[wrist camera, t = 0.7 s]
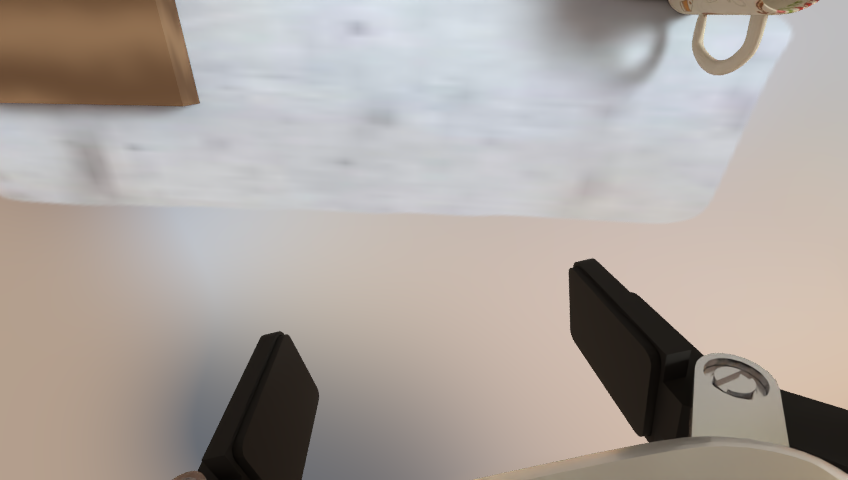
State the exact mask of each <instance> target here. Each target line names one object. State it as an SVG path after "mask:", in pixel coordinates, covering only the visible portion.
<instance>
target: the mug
mask: <svg viewBox="0 0 848 480" xmlns="http://www.w3.org/2000/svg"><path fill="white" fill-rule="evenodd" d="M668 1H669V3H670V5H671V6H672V8H673V9H674V10H676V11H677V12H679V13H682V14H691V15H699V17H698V19H697V22H696V26H695V30H694V35H693V40H692V50H693V54H694V56H695V58H696V60H697V62H698V64H699V65H700V67H701V68H702V69H703V70H704V71H706V72H707V73H709V74H712V75H724V74H728V73H730V72H733V71H735V70H736V69H738V68H740V67H741V66H742V65H744V64H745V63H746V62H747V61H748V60H749V59H750V58H751V57H752V56H753V55H754V54H755V52H756V51H757V49H758V47H759V45H760V42H761V39H762V36H763V33H764V29H765V25H766V21H767V17H768V15H780V14H788V13H793V12H796V11H800V10H802V9H805V8H807V7H809V6H811V5H813V4H814V3H816V2H818V1H819V0H668ZM707 15H751V17H750V21H749V26H748V31H747V36H746V39H745V42H744V44H743V45H742V47H741V48H740V49H739V50H738V51H737V52H736V53H735V54H734V55H733V56H731V57H730V58H728V59H726V60H716V59H714V58H713V57H712V56H711V55H709V53H708V52H707V51H706V49H705V48H704V45H703V38H704V32H705V26H706V18H707Z"/></svg>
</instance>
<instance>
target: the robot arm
mask: <svg viewBox="0 0 848 480" xmlns="http://www.w3.org/2000/svg"><path fill="white" fill-rule="evenodd" d="M569 296H570V330H571V335H572V337H573V340H574V342H575V343H576V345H577V346H578V348H579V349H580V351H581V352H582V354H583V355H584V357H585V358H586V360H587V361H588V363H589V364H590V366H591V367H592V369H593V370H594V372H595V373H596V375H597V376H598V378H599V379H600V381H601V382H602V384H603V385H604V386H605V388H606V390H607V391H608V393H609V394H610V396H611V397H612V399H613V400H614V401H615V403H616V404H617V406H618V407H619V409H620V410H621V412H622V413H623V415H624V416H625V418H626V419H627V421H628V422H629V424H630V425H631V427H632V428H633V430H634V431H635V432H636V434H637V435H638V436H640V437H642V436H645V438H646V439H647V441H648V442H649V443H645V444H640V445H634V446H630V447H624V448H619V449H614V450H609V451H604V452H599V453H594V454H589V455H584V456H580V457H575V458H571V459H566V460H561V461H556V462H552V463H548V464H543V465H538V466H533V467H529V468H524V469H519V470H515V471H510V472H505V473H501V474H497V475H492V476H487V477H483V478H479V479H474V480H848V410H846V409H842V408H839V407H836V406H833V405H829V404H826V403H823V402H819V401H816V400H812V399H810V398H806V397H803V396H800V395H797V394H793V393H790V392H787V391H784V390H780V388H779V386H778V384H777V381H776V380H775V379H774V378H773V377H772V375H771V374H769V372H768V371H766V370H765V369H763V368H762V367H761V366H759V365H758V364H756V363H754V362H752V361H750V360H747V359H745V358H742V357H739V356H735V355H731V354H724V353H713V354H708V355H705V356H704V355H702V354H701V353H700V352H699V351H698V350H697V349H696V348H695V347H694V346H693V345H692V344H690V343H689V342H688V341H687V340H686V339H685V338H684V337H683V336H682V335H681V334H679V332H678V331H676V330H675V329H674V328H673V327H672V326H671V325H670V324H669V323H668V322H667V321H666V320H665V319H663V318H662V317H661V316H660V315H659V314H658V313H657V312H656V311H655V310H654V309H653V308H652V307H650V306H649V305H648V304H647V303H646V302H645V301H644V300H643V299H642V298H641V297H640V296H638V295H637V294H635V293H632V292H629V291H628V290H627V289H626V288H625V287H624V286H623V285H622V284H621V283H620V282H619V281H618V280H617V279H616V278H614V277H613V276H612V275H611V274H610V273H609V272H608V271H607V270H606V269H605V268H604V267H603V266H602V265H601V264H600V263H599V262H597V261H596V260H595V259H588V260H583V261H579V262H575V263H574V265H573V268H570V269H569ZM318 400H319V392H318V389H317V386H316V385H315V383H314V381H313V379H312V377H311V375H310V373H309V371H308V370H307V368H306V366H305V364H304V362H303V360H302V358H301V356H300V355H299V353H298V351H297V349H296V347H295V346H294V343H293V341H292V340H291V338H290V336H289V335H284V333H282V332H280V331H279V332H275V333H270V334H266V335H263V336H261V338H260V340H259V342H258V344H257V346H256V348H255V350H254V352H253V354H252V356H251V358H250V361H249V363H248V365H247V367H246V369H245V371H244V373H243V375H242V377H241V379H240V382H239V383H238V385H237V388H236V390H235V392H234V394H233V396H232V398H231V400H230V402H229V404H228V406H227V408H226V410H225V413H224V415H223V417H222V419H221V421H220V423H219V425H218V427H217V429H216V431H215V433H214V435H213V438H212V440H211V442H210V444H209V446H208V448H207V450H206V452H205V454H204V456H203V459H202V463H201V465H200V467H199V469H198V471H190V472H186V473H184V474H181V475H179V476H177V477H176V478H174V479H173V480H302V474H303V470H304V466H305V461H306V456H307V452H308V447H309V442H310V437H311V433H312V428H313V424H314V419H315V415H316V410H317V405H318Z"/></svg>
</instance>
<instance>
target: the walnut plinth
mask: <svg viewBox="0 0 848 480" xmlns="http://www.w3.org/2000/svg"><path fill="white" fill-rule="evenodd" d="M0 103H46V104H99V105H152V106H187V105H192V104H198V103H200V102H199V98H198V94H197V90H196V86H195V82H194V78H193V74H192V70H191V65H190V61H189V57H188V53H187V49H186V45H185V41H184V37H183V33H182V28H181V24H180V20H179V16H178V12H177V8H176V4H175V0H0Z"/></svg>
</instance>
